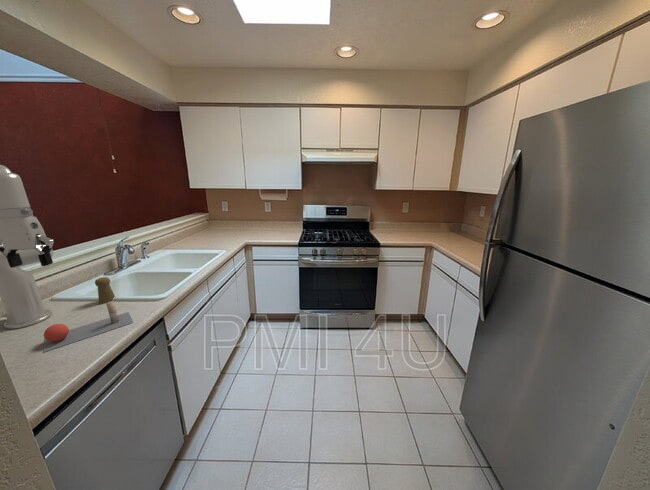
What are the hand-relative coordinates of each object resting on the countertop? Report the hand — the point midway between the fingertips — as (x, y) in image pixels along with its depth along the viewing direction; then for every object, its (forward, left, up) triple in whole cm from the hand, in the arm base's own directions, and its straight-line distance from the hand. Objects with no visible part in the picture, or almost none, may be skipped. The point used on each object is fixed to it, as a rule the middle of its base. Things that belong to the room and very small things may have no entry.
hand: (32, 265), depth 84 cm
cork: (-4, +27, -27) cm, 38 cm away
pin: (+14, +9, -27) cm, 32 cm away
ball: (+3, -2, -24) cm, 24 cm away
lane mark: (+9, +4, -27) cm, 29 cm away
